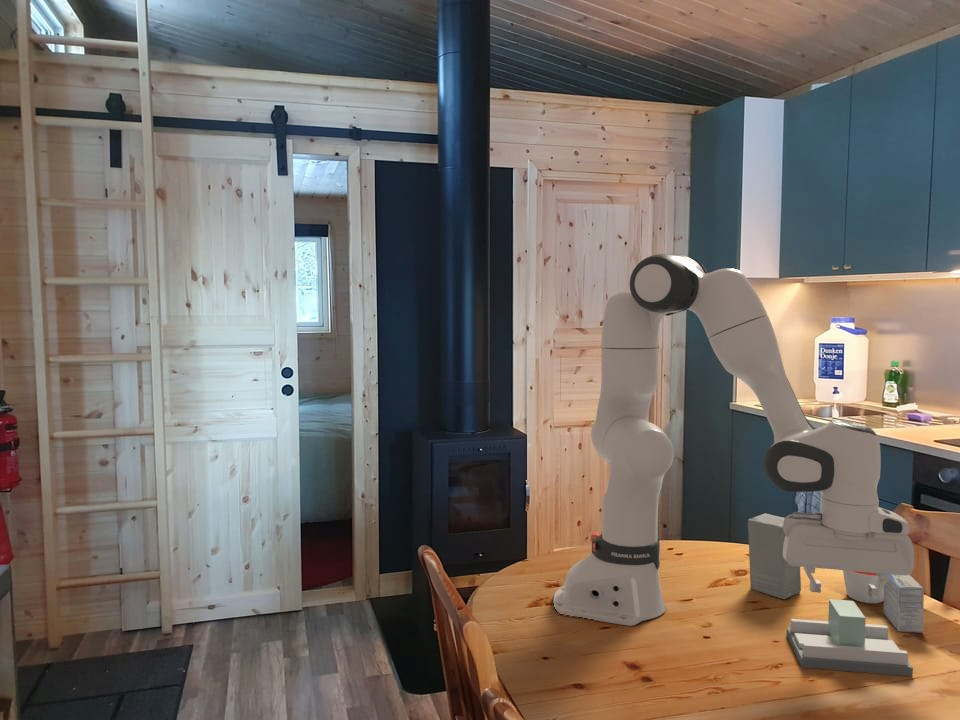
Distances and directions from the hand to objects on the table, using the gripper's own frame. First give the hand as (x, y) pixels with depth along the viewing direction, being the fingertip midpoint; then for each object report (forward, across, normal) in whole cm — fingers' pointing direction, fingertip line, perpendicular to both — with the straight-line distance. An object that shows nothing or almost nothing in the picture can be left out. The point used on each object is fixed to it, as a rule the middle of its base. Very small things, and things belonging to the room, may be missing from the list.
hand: (844, 594), depth 125 cm
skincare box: (+11, -6, +27) cm, 30 cm away
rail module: (+9, +1, 0) cm, 9 cm away
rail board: (+11, +1, 0) cm, 11 cm away
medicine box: (+11, +15, +15) cm, 24 cm away
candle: (+11, +12, +27) cm, 31 cm away
